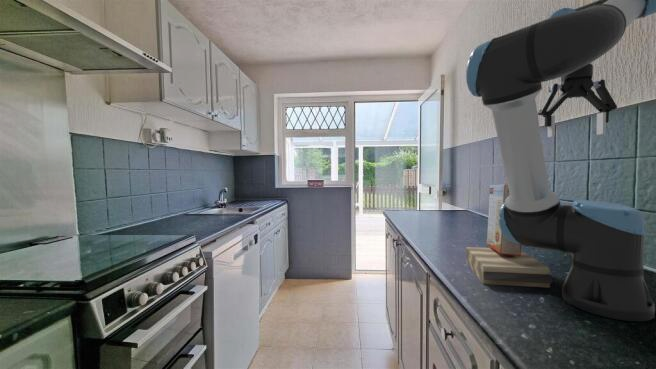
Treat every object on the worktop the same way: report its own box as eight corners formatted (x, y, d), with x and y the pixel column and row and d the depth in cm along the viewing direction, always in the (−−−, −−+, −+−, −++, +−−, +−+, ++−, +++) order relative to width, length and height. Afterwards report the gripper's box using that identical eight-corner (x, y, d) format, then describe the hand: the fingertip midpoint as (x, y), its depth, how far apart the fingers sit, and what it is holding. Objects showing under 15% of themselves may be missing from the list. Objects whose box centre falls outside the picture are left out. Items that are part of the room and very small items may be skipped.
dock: (551, 289, 75) (552, 270, 74) (484, 285, 78) (484, 267, 78) (518, 263, 94) (519, 248, 94) (466, 261, 98) (466, 247, 97)
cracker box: (522, 256, 84) (526, 184, 83) (499, 254, 85) (502, 184, 85) (505, 246, 97) (508, 185, 97) (486, 245, 99) (489, 184, 99)
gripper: (614, 66, 90) (613, 134, 92) (525, 74, 96) (525, 138, 97) (634, 57, 83) (632, 131, 84) (537, 67, 88) (537, 136, 90)
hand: (575, 135), depth 91 cm, fingers open, 13 cm apart
